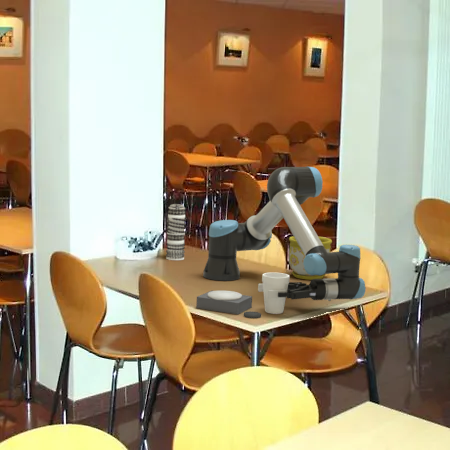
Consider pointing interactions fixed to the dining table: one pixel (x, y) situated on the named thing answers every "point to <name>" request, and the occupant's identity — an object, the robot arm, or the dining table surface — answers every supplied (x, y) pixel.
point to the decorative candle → (175, 232)
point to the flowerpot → (298, 257)
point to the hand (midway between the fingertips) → (263, 290)
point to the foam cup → (274, 283)
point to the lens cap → (252, 314)
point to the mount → (224, 302)
